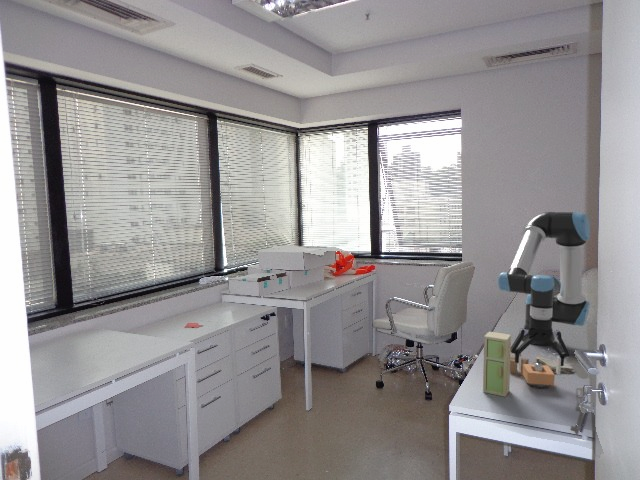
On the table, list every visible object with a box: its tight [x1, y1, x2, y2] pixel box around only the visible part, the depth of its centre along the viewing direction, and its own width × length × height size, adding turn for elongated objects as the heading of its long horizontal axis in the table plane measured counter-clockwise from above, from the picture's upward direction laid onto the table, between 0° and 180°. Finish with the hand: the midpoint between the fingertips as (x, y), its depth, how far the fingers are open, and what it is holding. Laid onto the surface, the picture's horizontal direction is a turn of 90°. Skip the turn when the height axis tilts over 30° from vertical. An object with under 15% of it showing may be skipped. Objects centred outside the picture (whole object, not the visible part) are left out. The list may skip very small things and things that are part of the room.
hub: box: [526, 362, 549, 390], centre depth 173 cm, size 7×7×8 cm
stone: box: [534, 355, 574, 374], centre depth 191 cm, size 15×11×3 cm
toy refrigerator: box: [482, 331, 512, 398], centre depth 166 cm, size 8×7×21 cm
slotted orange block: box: [522, 363, 556, 386], centre depth 173 cm, size 9×9×4 cm
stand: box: [510, 346, 530, 376], centre depth 186 cm, size 6×6×10 cm
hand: (538, 372), depth 173 cm, fingers open, 13 cm apart
